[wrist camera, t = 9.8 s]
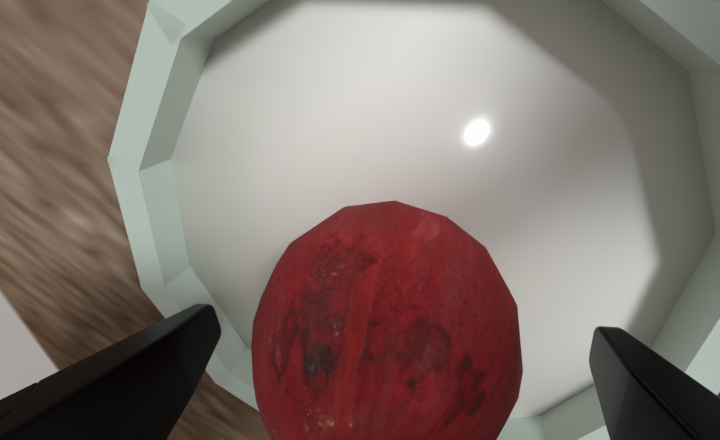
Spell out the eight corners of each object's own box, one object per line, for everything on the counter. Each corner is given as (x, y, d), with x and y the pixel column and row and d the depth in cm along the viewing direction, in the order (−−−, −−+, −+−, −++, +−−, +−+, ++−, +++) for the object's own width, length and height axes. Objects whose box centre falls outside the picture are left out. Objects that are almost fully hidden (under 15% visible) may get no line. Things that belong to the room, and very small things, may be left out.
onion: (296, 181, 11) (40, 391, 4) (487, 147, 10) (593, 403, 3) (342, 328, 13) (222, 632, 6) (507, 320, 12) (595, 731, 5)
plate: (933, 206, 8) (1061, 247, 7) (442, 480, 17) (441, 530, 15) (305, -311, 7) (258, -429, 5) (114, 264, 16) (72, 291, 14)
